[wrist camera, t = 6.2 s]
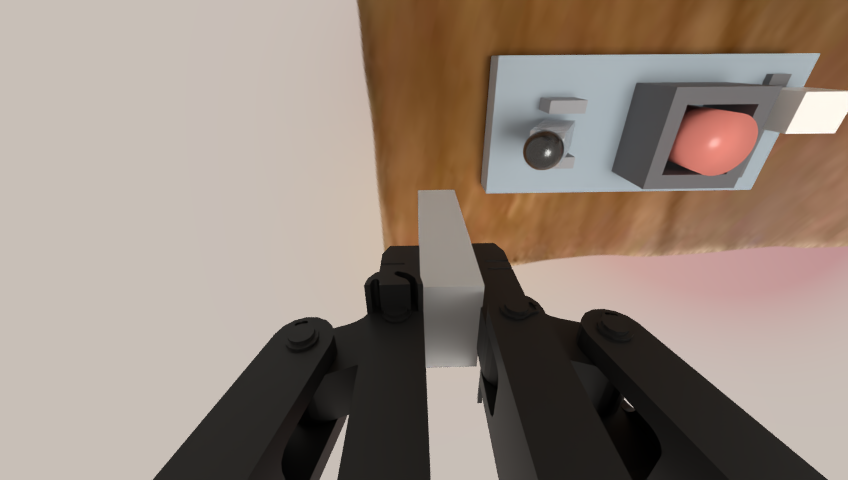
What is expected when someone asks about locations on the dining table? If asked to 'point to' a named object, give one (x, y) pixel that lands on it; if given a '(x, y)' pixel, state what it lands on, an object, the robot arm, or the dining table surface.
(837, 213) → the dining table surface
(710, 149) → the button
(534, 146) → the lever
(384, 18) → the dining table surface
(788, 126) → the slider
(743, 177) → the panel
